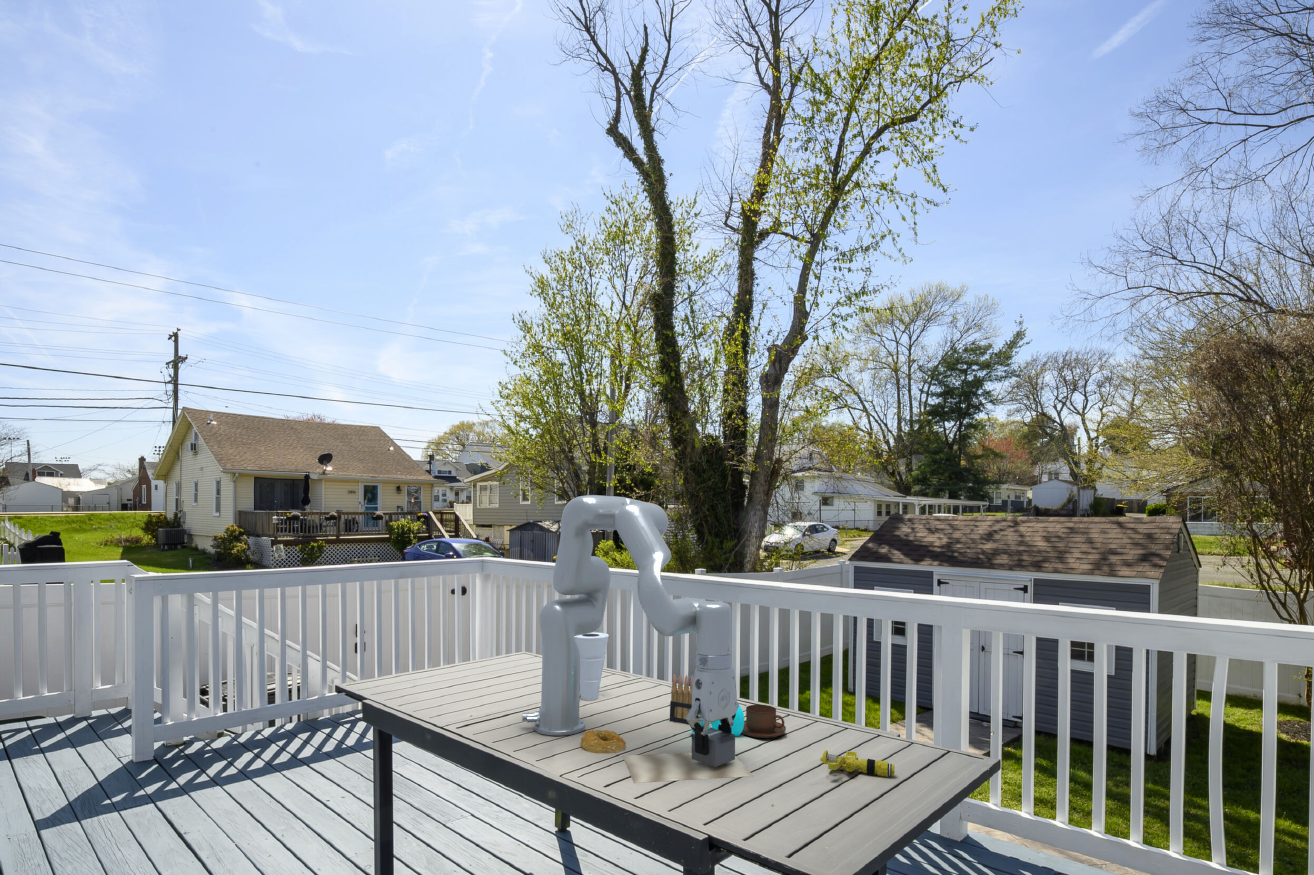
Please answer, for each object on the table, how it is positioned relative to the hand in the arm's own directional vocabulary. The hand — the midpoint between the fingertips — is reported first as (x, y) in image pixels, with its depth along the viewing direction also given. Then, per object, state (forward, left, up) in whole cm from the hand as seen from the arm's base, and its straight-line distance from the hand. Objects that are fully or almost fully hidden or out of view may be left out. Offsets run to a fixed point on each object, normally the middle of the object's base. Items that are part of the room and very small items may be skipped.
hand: (713, 748), depth 148 cm
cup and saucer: (+19, +24, -5) cm, 31 cm away
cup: (-20, +64, -5) cm, 67 cm away
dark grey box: (0, 0, -2) cm, 2 cm away
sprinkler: (+30, -4, -5) cm, 31 cm away
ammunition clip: (+3, +35, -5) cm, 35 cm away
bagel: (-21, +15, -5) cm, 26 cm away
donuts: (+6, +19, -5) cm, 20 cm away
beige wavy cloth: (-6, 0, -5) cm, 7 cm away
